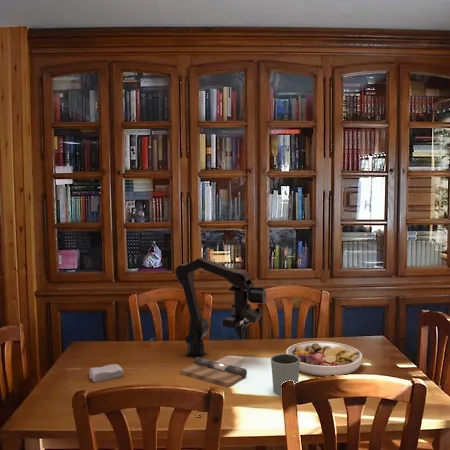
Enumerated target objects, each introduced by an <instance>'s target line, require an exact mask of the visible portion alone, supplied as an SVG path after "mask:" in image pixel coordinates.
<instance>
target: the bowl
mask: <svg viewBox="0 0 450 450" xmlns="http://www.w3.org/2000/svg"><path fill="white" fill-rule="evenodd" d="M285 354H292V355H296V356H298V357H299V358H300V364H299V372H302V373H305V374H308V375H312V376H320V377H332V376H331V375H339V376H344V374H345V375H347V374H351V373H353V372H355V371H356V370H358V369H359V367H360V366H361V365H362V361H363V354H362V352H361V351H360V350H358V349H357V348H356V347H353V346H350V345H348V344H344V343H340V342H333V341H327V340H326V341H325V340H324V341H323V340H319V341H317V340H315V341H314V340H312V341H303V342H298V343H295V344H292V345H290V346H289V347H287V348H286V351H285Z"/></svg>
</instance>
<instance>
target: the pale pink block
mask: <svg viewBox="0 0 450 450" xmlns="http://www.w3.org/2000/svg"><path fill="white" fill-rule="evenodd" d="M229 365H232V366H236V367H240V368H243V365H242V359H240V358H236V357H233V356H229V355H226V356H224V357H222V358H220V359H217V360H212V362H211V364H210V369H213V370H217V371H221V372H226V370H227V367H228V366H229Z"/></svg>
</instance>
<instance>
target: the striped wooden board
mask: <svg viewBox="0 0 450 450" xmlns="http://www.w3.org/2000/svg"><path fill="white" fill-rule="evenodd" d="M212 361H213V360H211V359H207V358H204V357H196V358H195V357H194V360H193V363H192V364H190V365H187V366H186V367H183V368H181V369H180V370H179V371H180V374H179V375H184V376H187V377H192V378H195V379H197V380H202V381H205V382H210V383H211V384H217V385H220V386H224V387H226V388H231V387H232V386H233V385H235V384H238V383H239V382H240V381H242V380H243V379H245V378H246V377H247V374H248V370H247V369H246V368H244V367H236V366H232V365H229V366H228V367H227V370H226V372H221V371H217V370H213V369H210V364H211V362H212Z"/></svg>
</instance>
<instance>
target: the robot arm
mask: <svg viewBox="0 0 450 450" xmlns="http://www.w3.org/2000/svg"><path fill="white" fill-rule="evenodd" d="M199 269H201V270H204V271H206V272H209V273H212V274H215V275H216V276H219V277H222V278H224V279H225V280H226V281H227V282H229V283H230V284H232V285H231V287H230V288H228V291H230V292H233V303H232V304H231V308H233V313H232V314H231V316H230V317H229V316H228V317H227V318H224V319H223V320H222V326H223V327H225V328H232V329H234V330H235V332H236V334H237V336H238V338H239V340H243V339H244V337H245V332H246V329H247V327H248V326H249V325H250V324H251V323H252V324H254V323H257V322H259V321H260V319H261V317H263V314H262V313H263V312H262V308H261V307H256V308H251V304H262V305H263V304H266V302H267V298H268V297H267V291H266V288H265V287H266V286H263V285H262V286H257V285H256V286H255V284H254V283H253V281H252V280H251V278H250V276H249V273H248V272H247V271H246V270H242V269H240V268H239V269H238V268H230V267H228V266H224V265H222V264H219V263H217V262H215V261H212V260H210V259H207V258H205V257H202V256H201V257H198V258H196V259H195V260H193V261H191V262H186V263H185V262H184V263H183V264H180V265H178V266H177V267H176V268H175V269H174V271H175V276H176V278H177V280H178V282H179V284H180V285H181V286H182V289H183V292H184V296H185V297H184V298H185V300H186V301H185V302H186V305H187V309H188V313H189V314H188V315H189V317H190V319H189V334H187V335H186V337H185V338H184V340H185V344H187V353H184V355H185V356H187V357H190V358H191V357H192V358H194V359H195V358H196V357H199V358H201V357H202V356H205V355H206V354H207V353H206V352H205V344H204V340H203V339H205V336H206V335H207V334H208V333H209V329H210V326H209V321H208V318H204V317H203V316H202V313H201V308H200V305H199V304H200V303H199V300H198V297H197V292H196V288H195V284H194V282H195V271H197V270H199ZM249 302H250V303H251V304H250V303H249Z"/></svg>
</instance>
